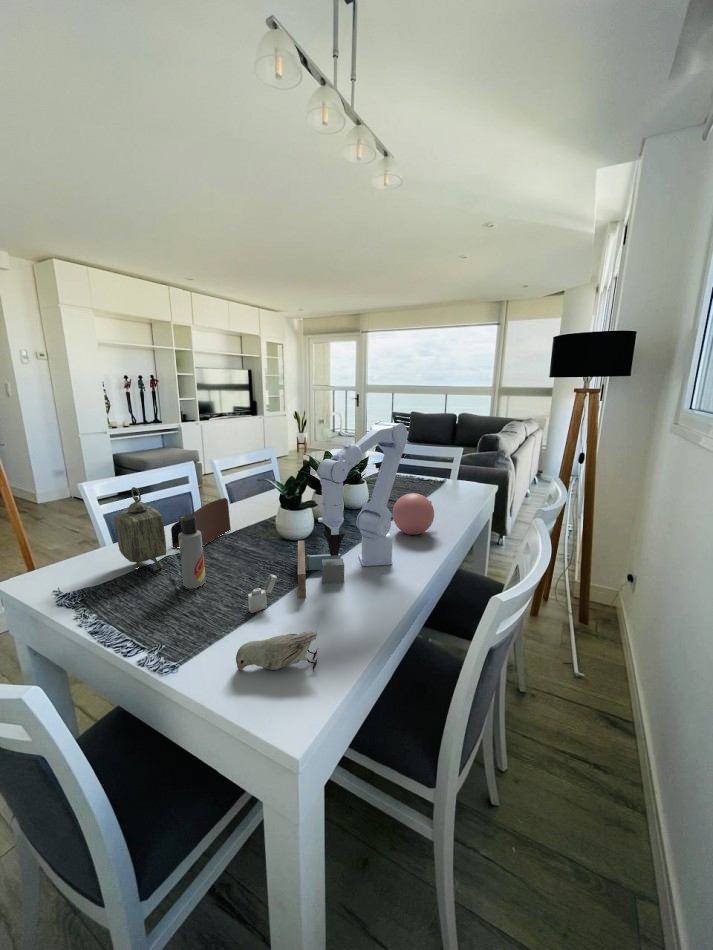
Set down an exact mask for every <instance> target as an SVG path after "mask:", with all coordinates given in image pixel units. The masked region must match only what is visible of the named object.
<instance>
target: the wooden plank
mask: <svg viewBox="0 0 713 950" xmlns="http://www.w3.org/2000/svg"><path fill="white" fill-rule="evenodd" d="M305 548H306V547H305V540H298V541H297V591H298V593H297V595H298V597H297V598H298V599H300V598H302V599H303V598H307V588H306V586H307V582H306V552H305Z"/></svg>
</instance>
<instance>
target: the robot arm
mask: <svg viewBox="0 0 713 950" xmlns="http://www.w3.org/2000/svg"><path fill="white" fill-rule="evenodd" d="M369 428H370V429H369V430H368V432H366V434H365V435H363V436H362V438H360V439H359V440H358V441H357V442H356V443H355V444H353V443H350V444H347V443H346V444H345V445H343V448H342V449H341V450H339V451H338V452H337V453H335V454H333V455H332V457H330V458H325V459H323V460H322V461H321V462H320V463H319V465H318V467H317V469H316V475H317V477H318V478H319V481H320V482H319V483H320V485H321V508H322V509H321V510H322V511H321V514H322V515H321V516H322V517H318V518H317V521H318V523H322V525H323V527H324V530H323V536H324V537H325V539H326V542H327V546H328V551H329V554H330V555H331V556H336V555H338V554H340V553H339V552H340V549H341V545H342V541H343V538H344V537H345V535H346V532H345V530H340V527H341V526H342V524H343V522H345V521H344V520H345V519H344V481H345V480H346V479H347V477H348V474H349V472H350V471H351V470H352V468H354V467H355V466H356V465H358V464H359V463H360V462H361V461H362V459H363V454H365V453H367V452H368V451H370V450H371V449H372V448H374V447H375V446H376V445H377V446H378V447H379V449H380V450H381V451H382V453H383V458H382V460H381V464H380V467H379V471H378V475H377V478H376V481H375V484H374V487H373V490H372V495H371V497H370V500H369V501H368V502H367V503H365V504H364V505H362V508H361V511H360V512H359V513H358V515H357V516H356V521H355V523H356V527H357V528H358V530H359V533H360V534H361V553H359V554H358V557H359V560H360V563H361V565H362V566H363V567H369V566H371V567H373V566H374V567H375V566H385V565H386V566H387V565H388V566H389V565H393V538H392V535H391V533H390V530H391V520H392V518H393V513H392V512H391V511H390V510H389V508H388V503H389V500H390V497H391V493H392V490H393V486H394V483H395V479H396V477H397V472H398V469H399V466H400V462H401V459H402V457H403V453H404V451H405V447H406V444H407V440H408V436H409V433H408V429H407V427H406V425H405V424H404V423H402V422H399V423H395V422H385V421H376V422H375V423H374V424H372V425H371V426H370V427H369Z"/></svg>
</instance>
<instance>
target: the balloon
mask: <svg viewBox="0 0 713 950" xmlns="http://www.w3.org/2000/svg"><path fill="white" fill-rule="evenodd" d="M432 503H433V502H432V501H431V500H429V498H427V497H426V496H425V495H422V494H420V493H415V492H411V493H407V494H403V495H402V496H400V497H399V498H398V499H397V501H396V502H395V503H394V505H393V508H392V519H393V522H394V524H395V526H396V528H397V529H399V530H400V531H401V532H403V533H405V534H407V535H412V536H414V535H420V534H421V535H422V534H423V533H424V532H427V531H428V530H429V529H430V528H431V526H432V524H433V522H434V520H435V519H434V518H435V509H434V506H433V504H432Z"/></svg>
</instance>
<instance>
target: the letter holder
mask: <svg viewBox="0 0 713 950" xmlns="http://www.w3.org/2000/svg"><path fill="white" fill-rule="evenodd" d="M229 507H230V506H229V501H228V498H226V497H223V498H219V499H216V500H213V501H210V502H208V503H206V504H205V505H203V506H201V507H200V508H198V509H197V510H195V511H194V512H193V513H191V514H190V515H194V517H196V523H197V530H199V531H200V532H201V537H202V546H203V545H205V544H206V543H208V542H210V541H212V540H213V539H215V538H217V537H218V536H220V535H222V534H224V533H225V532H227V531H229V530H230V531H231V530H232V529H231V528H232V527H231V521H230V517H231V516H230V510H229V509H230V508H229ZM230 531H229V532H230ZM181 532H182V530H181V520H178V521H176V522H175V523H174V524H172V526H171V529H170V533H171V544H172V546H173V547H179V538H178V535H179V534H180V533H181ZM227 533H228V532H227ZM225 534H226V533H225ZM225 534H224V535H225ZM222 536H223V535H222ZM217 539H218V538H217ZM212 542H213V541H212ZM173 547H172V548H173Z"/></svg>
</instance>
